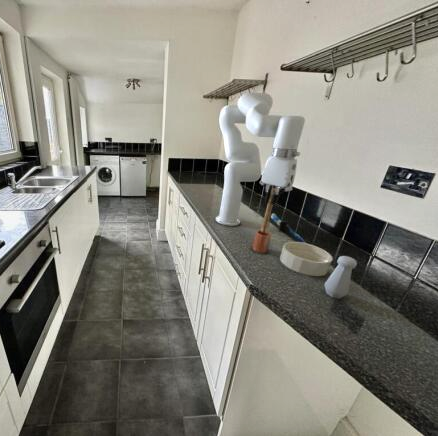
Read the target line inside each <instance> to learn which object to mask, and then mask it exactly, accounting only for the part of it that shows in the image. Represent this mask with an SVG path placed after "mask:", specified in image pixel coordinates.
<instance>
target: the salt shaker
mask: <svg viewBox="0 0 438 436" xmlns="http://www.w3.org/2000/svg"><path fill="white" fill-rule="evenodd" d="M336 263H337V266H336V267H335V268H334V270H333V271H332V272H331V274H330V276H328V278H327V280H326V281H325V282H324V285H323V286H324V290H325V294H326V295H328V296H330V297H331V298H333V299H338V300H340V299H341V298H343V297H345V296H347V295H348V293H349V289H350V284H351V279H352V271H353V269H355V268H356V267H357V265H358V262H357V260H356V259H355V258H352V257H350V256H348V255H340V256H339V257H338V259H337V261H336Z"/></svg>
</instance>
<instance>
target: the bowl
mask: <svg viewBox="0 0 438 436" xmlns="http://www.w3.org/2000/svg"><path fill="white" fill-rule="evenodd" d="M333 259H334V258H333V256H332V255H331V254H330V252H327V251H326V250H325V249H323V248H321V247H319V246H316V245H313V244H309V243H306V242H305V243H301V242H297V241H287V242H285V243H284V244H283V246H282V249H281V252H280V256H279V260H280V262H281V263H282V264H283V265H284V266H285V267H287V268H288V269H289V270H292V271H294V272H296V273H299V274H302V275H306V276H310V277H322V276H326V275H327V274H328V273H329V270H330V267H331V266H332V262H333Z"/></svg>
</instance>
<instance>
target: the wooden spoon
mask: <svg viewBox="0 0 438 436" xmlns="http://www.w3.org/2000/svg"><path fill="white" fill-rule="evenodd" d="M275 191H276V187H273V188H272V189H271V193H270V197H269V201H268V202H267V205H266V209H265V213H264V217H263V218H262V220H261V222H260V225H259V230H258V231H261V232H263V233H267V232H269V227H270V224H271V221H270V218H271V213H272V209H273V206H274V204H273V205H272V204H271V200H272V196H273V194H275Z"/></svg>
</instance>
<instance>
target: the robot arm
mask: <svg viewBox="0 0 438 436" xmlns="http://www.w3.org/2000/svg"><path fill="white" fill-rule="evenodd" d="M273 103H274V100H273V97H272V95H270V94H269V93H267V92H266V93H265V92H264V93H263V92H246V93H244V94H242V95H241V96H240V97H239V98H238V100H237V104H229V105H225V106H223V108H222V109H221V111H220V114H219V128H220V130H221V133H222V136H223V144H224V153H225V158H226V161H227V160H228V161H229V163H227V164H226V165H225V167H224V170H223V173H224V174H223V179H224V180H223V181H224V183H223V190H222V197H221V202H220V208H219V213H218V215H217V216H215V221H216V222H217V223H218V224H220V225H222V226H223V225H224V226H229V227H235V226H239V225H240V224H241V220H240V219H239V213H240V210H241V203H242V199H243V193H244V190H243V187H242V185H241V183H243V182H245V183H246V182H247V183H251V182H253V183H254V182H257V181H258V180H259V179H260V178H261V179H260V181H259V184H260V185H261V186H262V187H263V188H264V192H265V197H264V203H267V204H268V201H269V197H270V193H271V189H272V188H274V186H275V189H276V191H275V194H273V196H272V200H271V204H272V205H273V206H274V205H276V204H278V202H279V200H280V197H281V194H283V193H285V192H291V191H293V185H294V183H295V179H296V173H297V166H298V159H297V157H300V154H301V152H299V151H298V148H299V144H300V140H301V137H302V133H303V131H304V126H305V122H306V119H305V117H304V116H301V115H277V114H276V115H275V114H270V112H271V109H272V107H273ZM236 124H238V125H239V124H240V125H243V124H244V125H245V127H246V129H247V131H249V133H251V135H253V136H255V137H257V138H258V137H259V138H274V141H273V145H272V150H271V154H270V156H268V158H267V160H266V162H265V165H264V168H263V171H262V164H261V163H262V162H261V155H260V149H259V146H258V145H257V144H256V143H254V142H251V141H250V142H248V141H243V139H242V133H241V131H240V129H239V128H238V127H237V125H236Z"/></svg>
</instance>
